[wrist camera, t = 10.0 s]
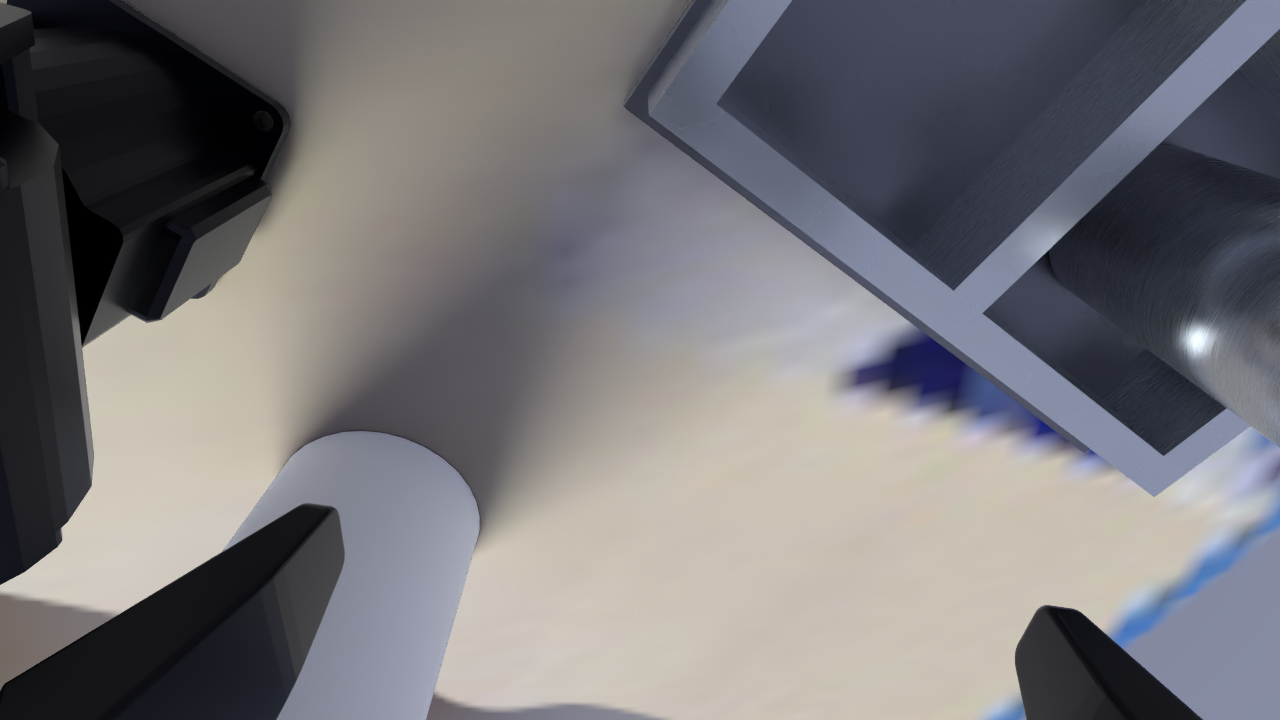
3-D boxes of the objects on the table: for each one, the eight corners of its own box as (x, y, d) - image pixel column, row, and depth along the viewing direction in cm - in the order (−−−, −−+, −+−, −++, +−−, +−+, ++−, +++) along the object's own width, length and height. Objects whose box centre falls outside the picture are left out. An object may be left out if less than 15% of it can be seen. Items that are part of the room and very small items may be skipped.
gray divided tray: (624, 100, 19) (620, 130, 15) (939, -366, 14) (1036, -474, 11) (1067, 434, 24) (1142, 515, 20) (1398, 163, 19) (1566, 205, 16)
